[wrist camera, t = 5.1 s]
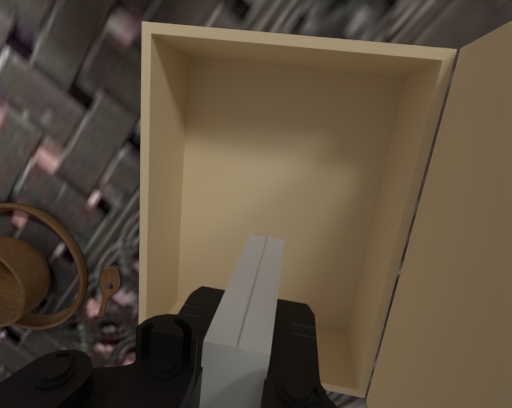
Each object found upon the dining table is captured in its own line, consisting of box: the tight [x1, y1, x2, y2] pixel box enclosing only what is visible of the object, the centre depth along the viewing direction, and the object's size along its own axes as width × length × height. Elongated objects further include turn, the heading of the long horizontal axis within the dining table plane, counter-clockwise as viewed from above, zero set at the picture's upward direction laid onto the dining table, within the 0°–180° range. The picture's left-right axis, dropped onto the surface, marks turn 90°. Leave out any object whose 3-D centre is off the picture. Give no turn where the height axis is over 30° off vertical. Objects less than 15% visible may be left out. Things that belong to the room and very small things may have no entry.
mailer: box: [139, 21, 457, 398], centre depth 20 cm, size 20×15×6 cm
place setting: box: [0, 203, 121, 330], centre depth 24 cm, size 18×20×6 cm
